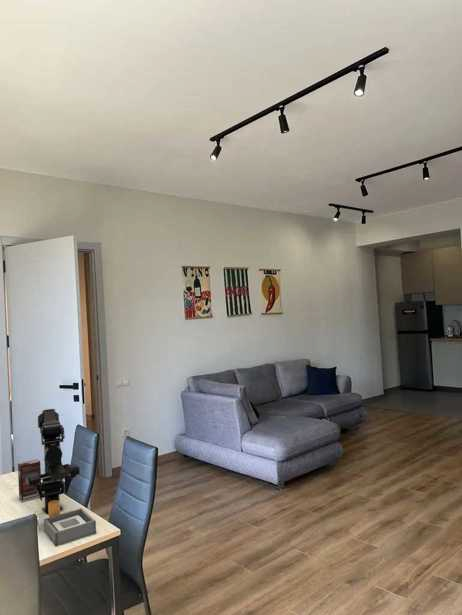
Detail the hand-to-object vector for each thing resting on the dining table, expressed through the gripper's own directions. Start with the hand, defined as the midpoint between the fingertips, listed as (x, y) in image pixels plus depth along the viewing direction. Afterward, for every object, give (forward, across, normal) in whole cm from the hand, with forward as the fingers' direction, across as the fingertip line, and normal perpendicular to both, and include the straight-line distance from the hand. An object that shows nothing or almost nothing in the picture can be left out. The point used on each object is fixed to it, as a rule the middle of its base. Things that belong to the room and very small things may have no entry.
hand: (53, 497), depth 171 cm
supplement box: (+10, -1, +34) cm, 35 cm away
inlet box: (+10, +2, -12) cm, 16 cm away
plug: (+10, 0, 0) cm, 10 cm away
